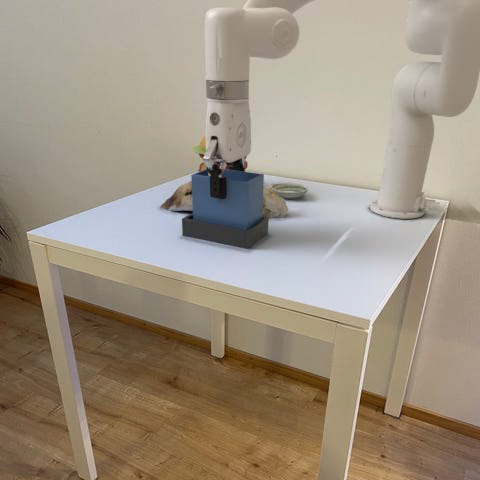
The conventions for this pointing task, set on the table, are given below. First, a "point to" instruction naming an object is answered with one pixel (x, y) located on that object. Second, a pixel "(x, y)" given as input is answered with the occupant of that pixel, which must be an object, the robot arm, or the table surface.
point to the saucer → (289, 190)
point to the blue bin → (229, 199)
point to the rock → (183, 201)
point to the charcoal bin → (225, 232)
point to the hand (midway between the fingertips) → (227, 192)
